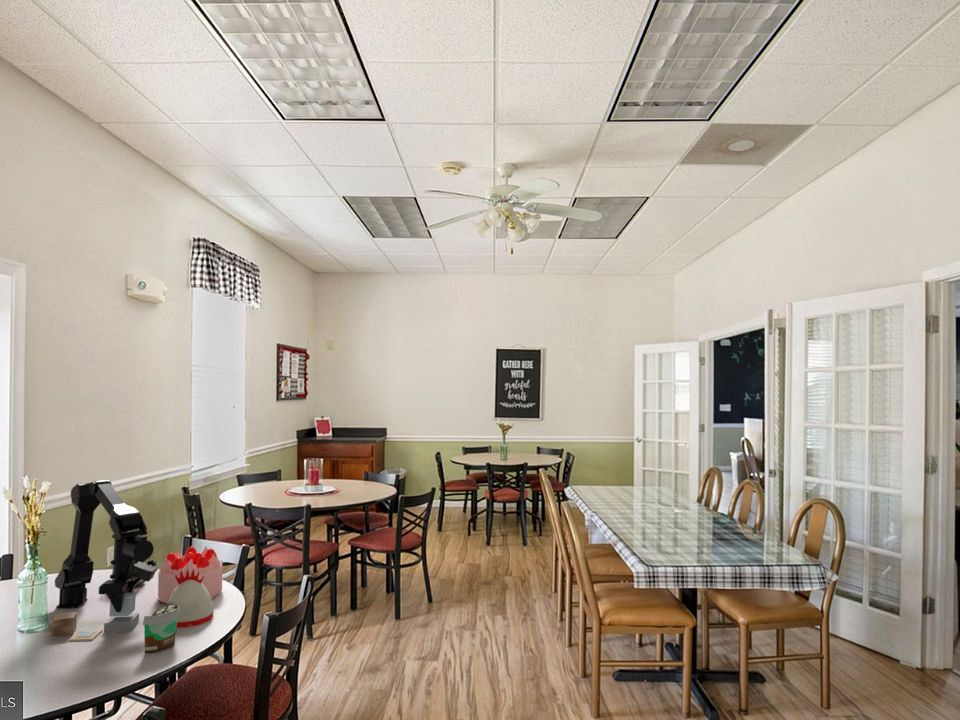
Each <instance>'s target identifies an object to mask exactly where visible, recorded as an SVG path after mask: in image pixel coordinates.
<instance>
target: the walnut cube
mask: <svg viewBox="0 0 960 720" xmlns="http://www.w3.org/2000/svg"><path fill="white" fill-rule="evenodd" d="M51 621H52V623H51V639H56V638H61V637H63V638H64V637H70V636H71V637H73V636H74V635H75V632H76V630H77V623H78V622H77V621H78V612H77V611H71V612H62V613H61V612H60V613H56V614H55V615H54V617H53V619H51ZM55 637H56V638H55Z"/></svg>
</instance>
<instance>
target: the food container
mask: <svg viewBox="0 0 960 720" xmlns="http://www.w3.org/2000/svg"><path fill="white" fill-rule="evenodd" d="M180 614H181V612H180V607H179V605H178V604H177V603H175V602H167V604H166V605H164V606H163V607H161V608H159V609H157V610H155V611H154V612H153V613H152V614H151V615H144V618H143V622H142V625H143V628H144V654H155V653H160V652H163V651H166V650H169V649H171V648H172V647H174V645H175V642H176V631H177V628H176V626H177V618H178V616H179V615H180Z"/></svg>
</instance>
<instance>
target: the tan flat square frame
mask: <svg viewBox="0 0 960 720" xmlns="http://www.w3.org/2000/svg"><path fill="white" fill-rule="evenodd" d="M102 632H103V630H102V629H97V630H96V629H93V630H92V629H91V630H79V631H77V632H76V633H74V634H73V635H72V636H71V637H70V638H69V639H68V642H82V641H83V642H84V641H85V642H86V641H87V642H88V641H93V640H95V639H96V638H97V637H98V636H99V635H101V634H102Z"/></svg>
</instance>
